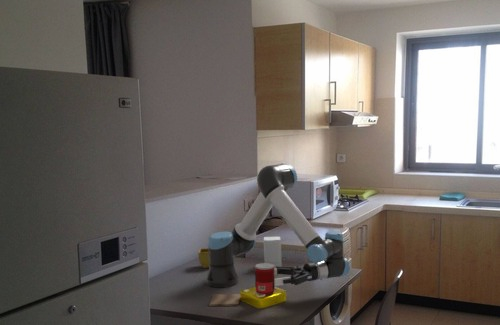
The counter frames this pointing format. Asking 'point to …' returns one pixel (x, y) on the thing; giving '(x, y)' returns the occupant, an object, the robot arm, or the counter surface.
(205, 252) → the flower pot
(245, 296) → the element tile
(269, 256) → the supplement box
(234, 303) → the walnut trivet
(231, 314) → the counter surface
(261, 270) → the canned food
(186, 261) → the counter surface
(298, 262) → the counter surface
